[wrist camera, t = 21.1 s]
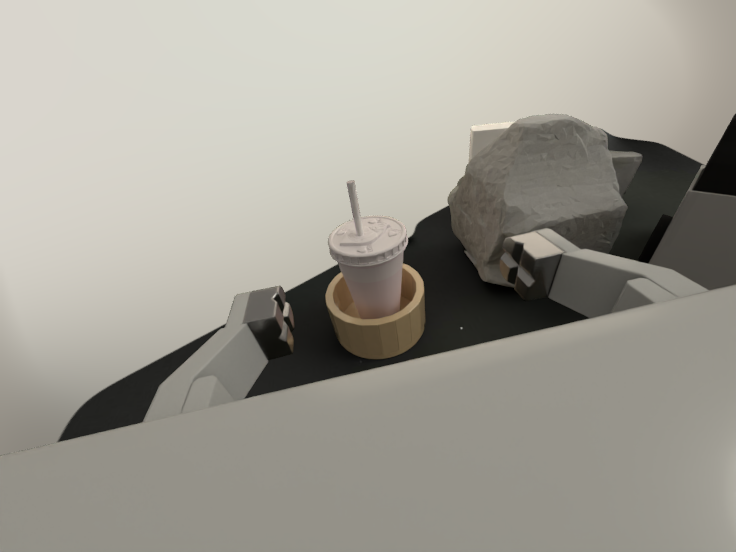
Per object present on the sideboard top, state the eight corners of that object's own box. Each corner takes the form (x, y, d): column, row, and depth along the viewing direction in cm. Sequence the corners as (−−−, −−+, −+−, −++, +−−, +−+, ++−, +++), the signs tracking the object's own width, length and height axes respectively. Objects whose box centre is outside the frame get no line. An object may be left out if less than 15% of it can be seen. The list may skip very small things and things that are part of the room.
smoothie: (338, 314, 30) (299, 182, 21) (388, 288, 32) (372, 158, 24) (370, 355, 25) (337, 208, 17) (427, 321, 28) (423, 175, 19)
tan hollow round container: (327, 359, 26) (314, 326, 24) (343, 293, 33) (335, 262, 31) (427, 359, 25) (426, 324, 22) (423, 290, 32) (421, 257, 29)
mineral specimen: (642, 217, 36) (656, 153, 31) (560, 230, 39) (561, 174, 35) (618, 191, 41) (627, 133, 36) (548, 205, 44) (548, 153, 40)
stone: (491, 307, 29) (516, 147, 19) (445, 245, 38) (447, 119, 29) (602, 282, 29) (678, 114, 20) (529, 227, 39) (557, 97, 30)
